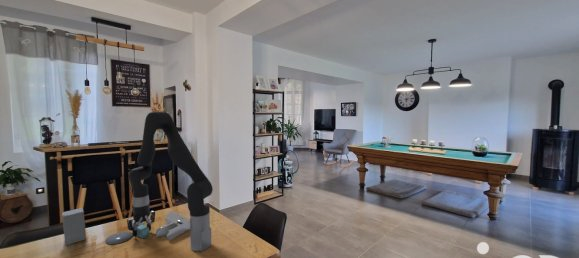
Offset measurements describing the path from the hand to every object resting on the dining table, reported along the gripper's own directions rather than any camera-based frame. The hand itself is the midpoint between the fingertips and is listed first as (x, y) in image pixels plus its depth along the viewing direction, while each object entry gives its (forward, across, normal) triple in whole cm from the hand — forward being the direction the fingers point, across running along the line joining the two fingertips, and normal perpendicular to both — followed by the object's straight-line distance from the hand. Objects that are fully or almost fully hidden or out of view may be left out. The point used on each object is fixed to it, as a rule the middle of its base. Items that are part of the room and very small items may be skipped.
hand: (142, 233), depth 131 cm
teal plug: (+1, 0, 0) cm, 1 cm away
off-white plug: (+1, +3, +10) cm, 10 cm away
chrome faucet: (+1, +11, -8) cm, 14 cm away
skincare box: (+1, -21, +24) cm, 32 cm away
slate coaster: (+1, -8, +7) cm, 11 cm away
